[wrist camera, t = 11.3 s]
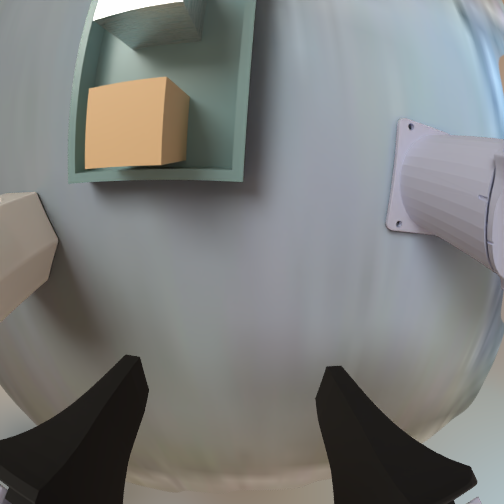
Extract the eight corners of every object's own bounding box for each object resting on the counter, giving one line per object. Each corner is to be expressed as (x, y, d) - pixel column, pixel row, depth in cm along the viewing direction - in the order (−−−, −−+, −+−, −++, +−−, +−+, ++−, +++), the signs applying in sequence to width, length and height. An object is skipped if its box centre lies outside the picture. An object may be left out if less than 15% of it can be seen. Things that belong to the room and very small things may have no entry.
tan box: (189, 96, 14) (166, 76, 9) (186, 160, 15) (161, 165, 11) (129, 101, 14) (88, 88, 9) (126, 161, 15) (85, 169, 11)
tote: (258, -19, 11) (259, -38, 9) (243, 177, 16) (242, 181, 14) (111, -3, 11) (97, -16, 8) (87, 178, 16) (68, 183, 14)
